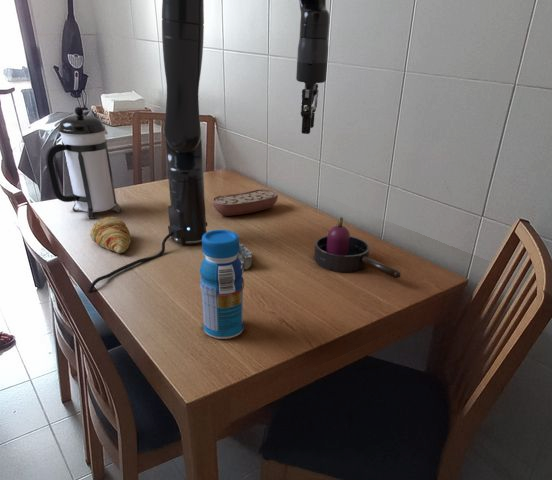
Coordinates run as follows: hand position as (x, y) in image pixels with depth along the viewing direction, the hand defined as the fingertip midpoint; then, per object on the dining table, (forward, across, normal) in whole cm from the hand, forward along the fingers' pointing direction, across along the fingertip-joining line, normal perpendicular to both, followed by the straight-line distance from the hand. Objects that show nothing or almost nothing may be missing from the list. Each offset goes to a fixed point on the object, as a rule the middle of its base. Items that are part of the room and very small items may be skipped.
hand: (307, 130), depth 128 cm
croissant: (+28, +22, -50) cm, 62 cm away
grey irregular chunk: (+28, +26, -14) cm, 41 cm away
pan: (+28, +19, +13) cm, 36 cm away
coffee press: (+28, +1, -66) cm, 72 cm away
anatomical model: (+28, -12, -20) cm, 37 cm away
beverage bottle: (+28, +58, -8) cm, 65 cm away
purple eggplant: (+28, +17, +12) cm, 35 cm away
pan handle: (+26, +27, +23) cm, 44 cm away
